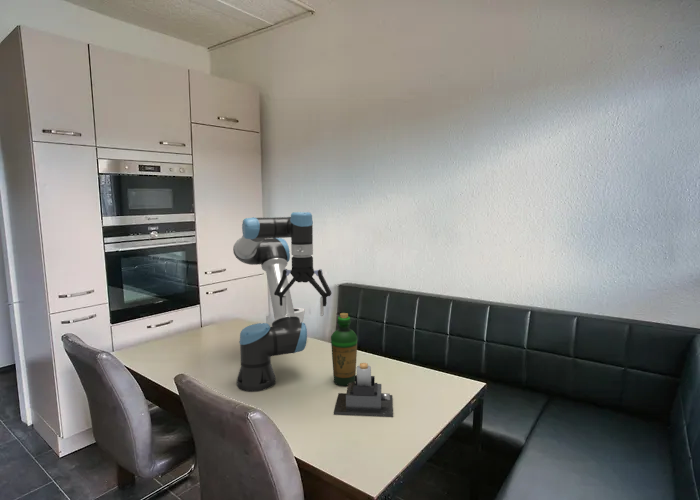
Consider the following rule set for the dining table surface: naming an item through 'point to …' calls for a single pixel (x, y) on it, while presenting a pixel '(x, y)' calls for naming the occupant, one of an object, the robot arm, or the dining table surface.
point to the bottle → (344, 352)
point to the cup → (299, 313)
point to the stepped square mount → (364, 401)
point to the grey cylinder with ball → (363, 375)
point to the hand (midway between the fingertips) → (303, 314)
